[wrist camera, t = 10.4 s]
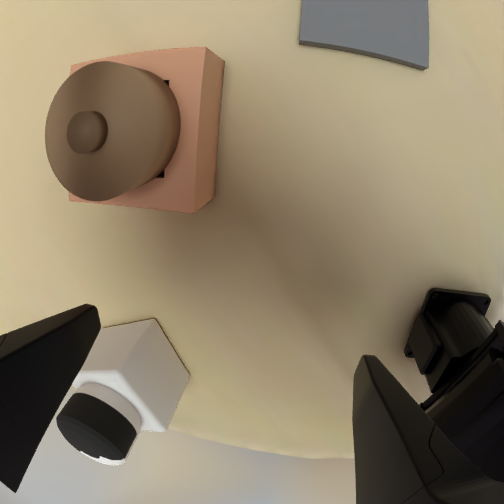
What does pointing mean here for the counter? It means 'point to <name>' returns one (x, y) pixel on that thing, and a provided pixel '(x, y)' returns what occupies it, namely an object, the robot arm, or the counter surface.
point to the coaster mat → (369, 28)
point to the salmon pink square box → (191, 133)
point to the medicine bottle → (123, 391)
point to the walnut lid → (111, 130)
